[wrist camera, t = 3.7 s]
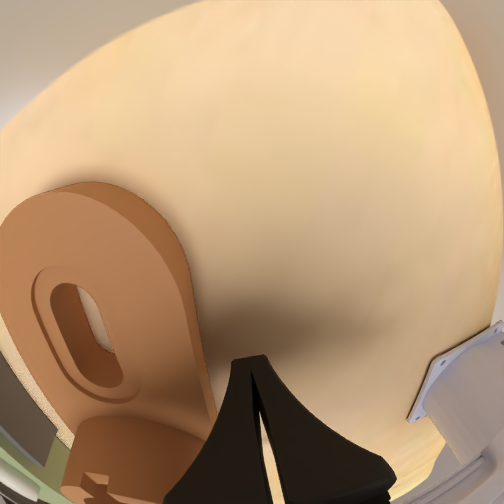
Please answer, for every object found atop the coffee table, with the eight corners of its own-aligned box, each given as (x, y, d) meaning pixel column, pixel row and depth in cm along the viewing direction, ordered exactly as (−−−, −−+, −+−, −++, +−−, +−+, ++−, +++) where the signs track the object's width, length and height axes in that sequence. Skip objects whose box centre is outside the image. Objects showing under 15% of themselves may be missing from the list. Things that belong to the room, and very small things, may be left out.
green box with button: (-22, 309, 9) (-79, 372, 3) (119, 485, 17) (114, 535, 11) (-71, 314, 9) (-108, 354, 2) (45, 468, 16) (35, 507, 10)
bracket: (226, 450, 15) (236, 533, 9) (117, 447, 15) (106, 521, 8) (179, 166, 9) (104, 189, 3) (11, 200, 8) (-101, 251, 2)
